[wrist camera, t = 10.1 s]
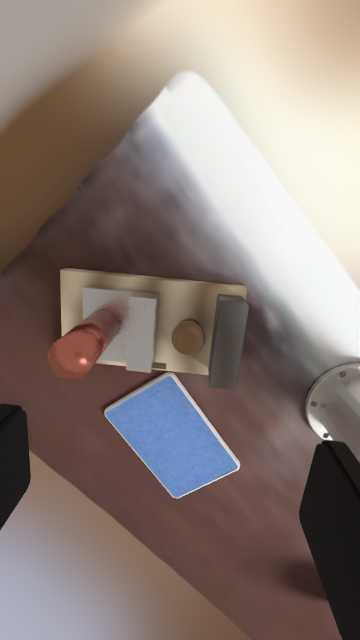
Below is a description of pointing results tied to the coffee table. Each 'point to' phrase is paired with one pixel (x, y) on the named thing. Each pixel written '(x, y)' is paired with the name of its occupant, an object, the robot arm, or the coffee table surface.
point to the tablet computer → (172, 435)
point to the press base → (176, 321)
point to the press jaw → (109, 332)
